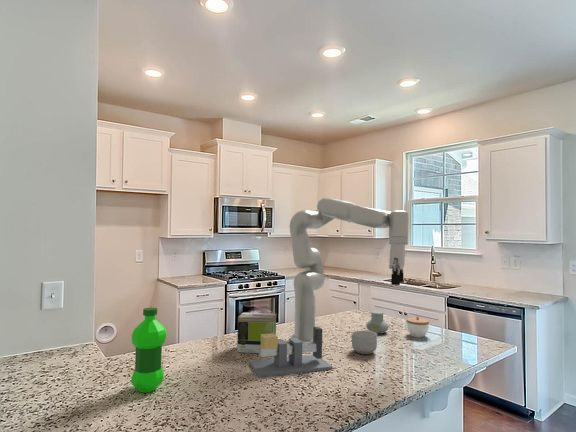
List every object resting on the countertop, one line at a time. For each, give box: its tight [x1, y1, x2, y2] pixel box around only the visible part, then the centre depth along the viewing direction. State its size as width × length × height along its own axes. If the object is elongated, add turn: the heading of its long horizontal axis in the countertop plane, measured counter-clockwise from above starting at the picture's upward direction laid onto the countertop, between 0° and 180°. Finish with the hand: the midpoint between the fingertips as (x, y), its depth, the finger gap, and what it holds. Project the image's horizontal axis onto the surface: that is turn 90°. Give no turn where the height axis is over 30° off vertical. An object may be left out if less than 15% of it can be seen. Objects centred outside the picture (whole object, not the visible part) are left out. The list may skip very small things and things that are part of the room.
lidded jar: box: [405, 316, 430, 338], centre depth 188 cm, size 11×11×9 cm
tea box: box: [236, 312, 277, 354], centre depth 161 cm, size 15×10×15 cm, turn 84°
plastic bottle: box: [130, 307, 167, 393], centre depth 120 cm, size 10×10×25 cm
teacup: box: [350, 329, 378, 355], centre depth 162 cm, size 14×11×8 cm
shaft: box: [257, 326, 323, 359], centre depth 142 cm, size 4×24×11 cm, turn 110°
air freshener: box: [365, 310, 389, 335], centre depth 193 cm, size 11×8×10 cm
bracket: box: [248, 337, 333, 378], centre depth 142 cm, size 14×28×10 cm, turn 110°
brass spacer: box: [261, 333, 279, 349], centre depth 140 cm, size 5×5×4 cm
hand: (397, 283), depth 154 cm, fingers open, 9 cm apart
